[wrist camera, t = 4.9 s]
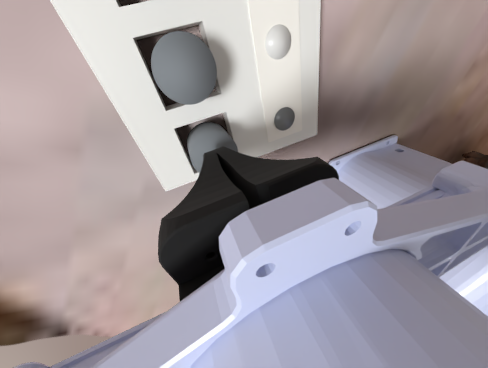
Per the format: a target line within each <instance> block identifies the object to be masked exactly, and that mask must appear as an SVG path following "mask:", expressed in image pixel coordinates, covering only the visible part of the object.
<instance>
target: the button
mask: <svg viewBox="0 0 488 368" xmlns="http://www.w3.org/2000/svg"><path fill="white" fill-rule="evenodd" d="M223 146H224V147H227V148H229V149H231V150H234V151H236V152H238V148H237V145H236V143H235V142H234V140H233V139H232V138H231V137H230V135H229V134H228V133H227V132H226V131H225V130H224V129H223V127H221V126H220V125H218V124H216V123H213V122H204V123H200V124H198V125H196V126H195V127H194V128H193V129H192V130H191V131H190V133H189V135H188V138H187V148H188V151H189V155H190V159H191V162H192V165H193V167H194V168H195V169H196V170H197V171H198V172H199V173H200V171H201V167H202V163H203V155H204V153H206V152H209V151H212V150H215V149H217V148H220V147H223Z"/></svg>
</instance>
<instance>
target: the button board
mask: <svg viewBox="0 0 488 368" xmlns="http://www.w3.org/2000/svg"><path fill="white" fill-rule="evenodd" d="M50 1H51V3H52V5H53V6H54V8H55V10H56V11H57V13H58V14H59V16H60V18H61V19H62V21H63V23H64V24H65V26H66V28H67V29H68V31H69V33H70V34H71V36H72V38H73V39H74V41H75V43H76V44H77V46H78V48H79V49H80V51H81V52H82V54H83V56H84V57H85V59H86V61H87V62H88V64H89V66H90V67H91V69H92V71H93V72H94V74H95V76H96V77H97V79H98V81H99V82H100V84H101V86H102V87H103V89H104V90H105V92H106V94H107V95H108V97H109V99H110V100H111V102H112V104H113V105H114V107H115V109H116V110H117V112H118V114H119V115H120V117H121V119H122V120H123V122H124V124H125V125H126V127H127V128H128V130H129V132H130V133H131V135H132V137H133V138H134V140H135V142H136V143H137V145H138V147H139V148H140V150H141V152H142V153H143V155H144V157H145V158H146V160H147V162H148V163H149V165H150V166H151V168H152V170H153V171H154V173H155V175H156V176H157V178H158V180H159V181H160V183H161V185H162V186H163V188H164V190H165V191H169V190H171V189H174V188H177V187H179V186H182V185H185V184H187V183H190V182H193V181H195V180H197V179H198V176H199V174H200V173H199V172H198V171H197V170H196V169H195V168H194V167H193V165H192V164H191V162H190V160H189V158H188V155H187V153H186V151H185V149H184V146H183V144H182V142H181V140H180V137H179V135H178V133H177V131H176V128H178V127H181V126H184V125H187V124H190V123H193V122H196V121H199V120H202V119H206V118H209V117H212V116H215V115H218V114H221V113H223V116H224V120H225V123H226V127H227V130H228V134H229V135H230V137H231V138H232V139H233V140H234V142H235V143H236V145H237V148H238V152H239V153H242V154H245V155H248V156H252V157H256V158H257V157H259V156H262V155H265V154H267V153H270V152H273V151H275V150H278V149H281V148H283V147H286V146H289V145H291V144H294V143H297V142H299V141H302V140H305V139H307V138H310V137H313V136H315V135H317V126H318V86H319V46H320V6H321V0H150V1H145V2H140V3H136V4H131V5H127V6H122V7H121V5H120V3H119V1H118V0H50ZM195 25H199V29H200V32H201V36H202V40H203V42H204V43H205V44H206V45H207V46H208V48H209V49H210V51H211V52H212V54H213V57H214V59H215V62H216V67H217V79H216V84H215V87H216V90H217V91H214V92H212V93H211V94H210V95H209V96H208V97H207V98H206V99H205V100H203V101H202V102H200V103H197V104H192V105H185V104H181V103H175V104H172V105H169V106H165V104H164V102H163V99H162V97H161V95H160V93H159V90H158V88H157V86H156V84H155V81H154V79H153V77H152V75H151V72H150V70H149V68H148V66H147V63H146V61H145V59H144V57H143V54H142V52H141V50H140V48H139V46H138V43H137V41H136V40H138V39H143V38H147V37H151V36H155V35H159V34H163V33H167V32H171V31H175V30H179V29H183V28H187V27H191V26H195Z"/></svg>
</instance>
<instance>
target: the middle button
mask: <svg viewBox="0 0 488 368" xmlns="http://www.w3.org/2000/svg"><path fill="white" fill-rule="evenodd" d="M151 68H152V73H153V76H154V79H155V81H156V83H157V85H158V87H159V88H160V89H161V91H162V92H163V93H164V94H165V95H166V96H167V97H169V98H170V99H172V100H173V101H175V102H178V103H181V104H185V105H192V104H197V103H200V102H202V101H203V100H205V99H206V98H207V97H208V96H209V95H210V94H211V93H212V91H213V89H214V87H215V84H216V79H217V67H216V62H215V59H214V57H213V54H212V52H211V51H210V49H209V48H208V46H207V45H206V44H205V43H204V42H203V41H202V40H201V39H200V38H198V37H197V36H195V35H193V34H191V33H188V32H184V31H174V32H170V33H168V34H166V35H164V36H163V37H161V38H160V39H159V41H158V42H157V43H156V45H155V47H154V49H153V52H152V56H151Z"/></svg>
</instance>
